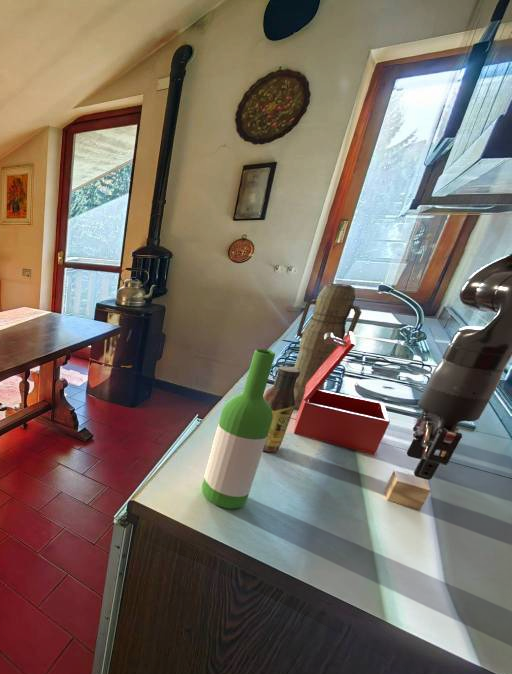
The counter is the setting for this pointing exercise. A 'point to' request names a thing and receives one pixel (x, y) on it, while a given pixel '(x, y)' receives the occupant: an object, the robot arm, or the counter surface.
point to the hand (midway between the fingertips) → (417, 466)
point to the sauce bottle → (280, 405)
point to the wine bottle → (240, 438)
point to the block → (407, 490)
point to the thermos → (322, 332)
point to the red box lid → (329, 362)
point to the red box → (343, 421)
